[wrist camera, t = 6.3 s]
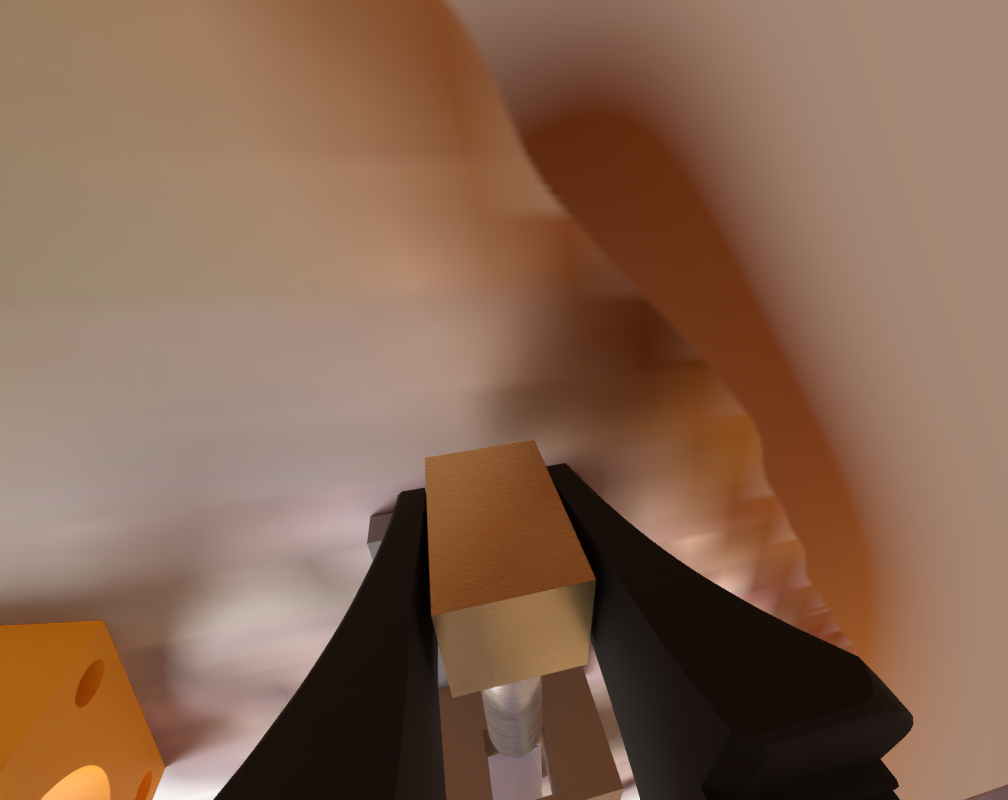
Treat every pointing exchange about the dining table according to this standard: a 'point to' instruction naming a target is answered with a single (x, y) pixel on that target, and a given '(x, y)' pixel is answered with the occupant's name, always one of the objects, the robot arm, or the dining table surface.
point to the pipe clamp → (71, 717)
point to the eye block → (564, 738)
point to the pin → (505, 584)
